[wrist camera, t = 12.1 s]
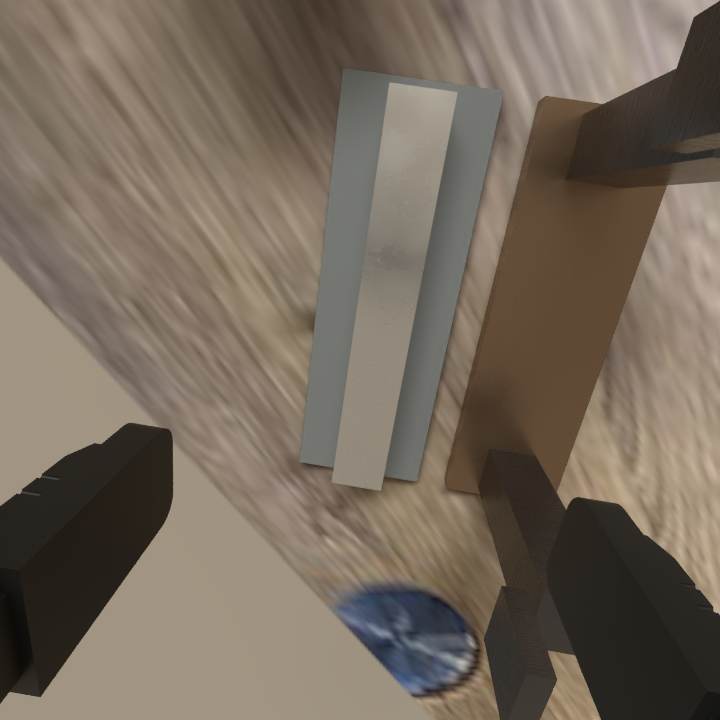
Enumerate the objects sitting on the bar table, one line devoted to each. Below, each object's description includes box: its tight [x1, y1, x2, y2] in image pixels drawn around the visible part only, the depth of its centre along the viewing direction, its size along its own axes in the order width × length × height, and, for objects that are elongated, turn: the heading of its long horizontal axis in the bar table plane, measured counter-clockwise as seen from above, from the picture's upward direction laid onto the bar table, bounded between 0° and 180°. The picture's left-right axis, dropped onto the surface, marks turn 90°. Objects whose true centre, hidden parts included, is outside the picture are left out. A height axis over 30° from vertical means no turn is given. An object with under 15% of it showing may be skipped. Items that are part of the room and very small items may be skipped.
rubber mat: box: [300, 68, 504, 482], centre depth 26 cm, size 8×23×1 cm, turn 172°
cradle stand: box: [445, 1, 720, 720], centre depth 19 cm, size 7×23×16 cm, turn 172°
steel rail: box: [332, 82, 458, 491], centre depth 24 cm, size 3×21×3 cm, turn 172°
